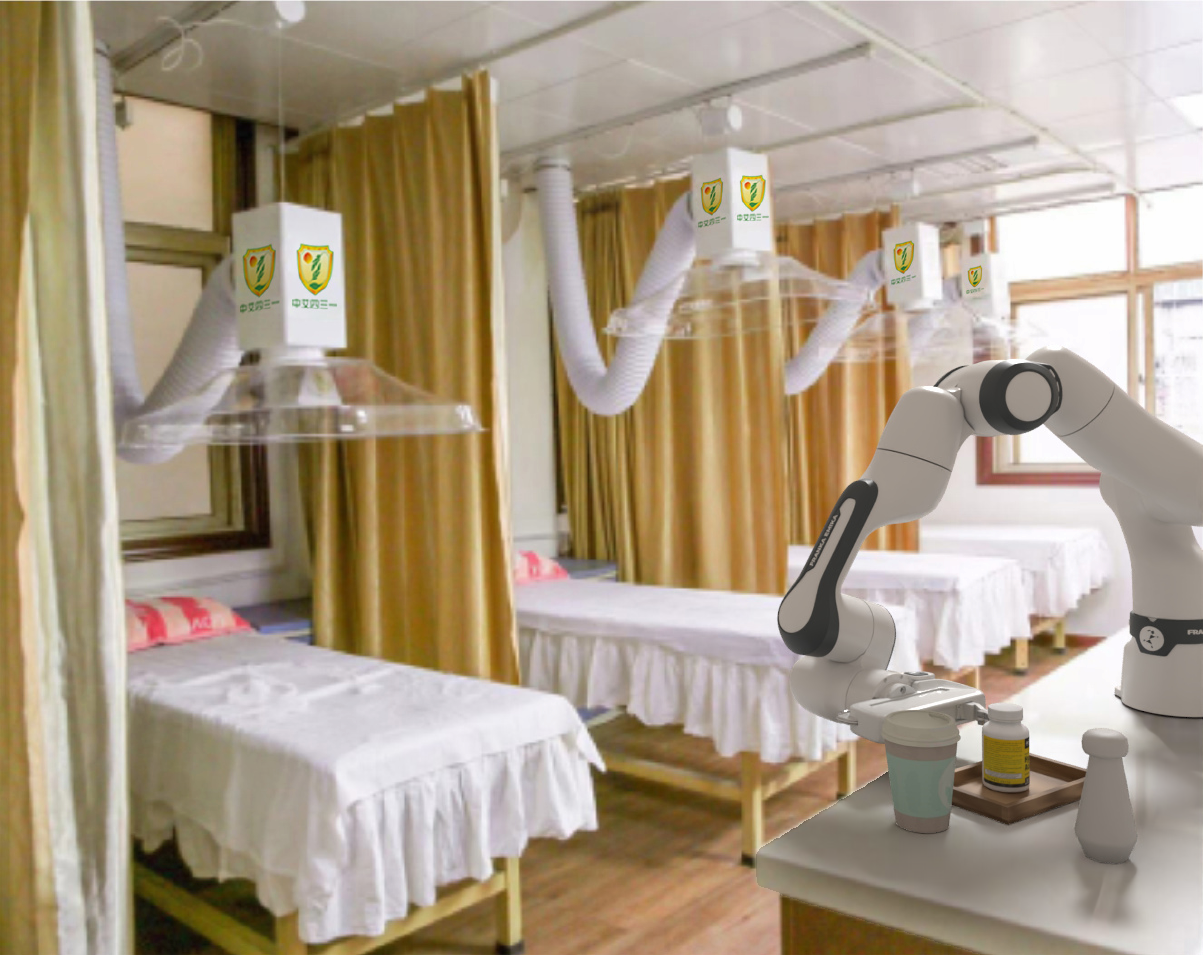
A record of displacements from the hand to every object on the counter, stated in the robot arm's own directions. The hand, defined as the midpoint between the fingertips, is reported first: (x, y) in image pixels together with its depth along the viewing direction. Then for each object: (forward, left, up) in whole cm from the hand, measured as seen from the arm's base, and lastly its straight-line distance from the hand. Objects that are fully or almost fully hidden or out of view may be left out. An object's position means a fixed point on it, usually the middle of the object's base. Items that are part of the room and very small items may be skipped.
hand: (968, 726), depth 132 cm
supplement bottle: (0, +5, -6) cm, 8 cm away
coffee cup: (+16, +6, -7) cm, 19 cm away
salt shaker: (+8, +23, -7) cm, 26 cm away
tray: (0, +6, -7) cm, 9 cm away
